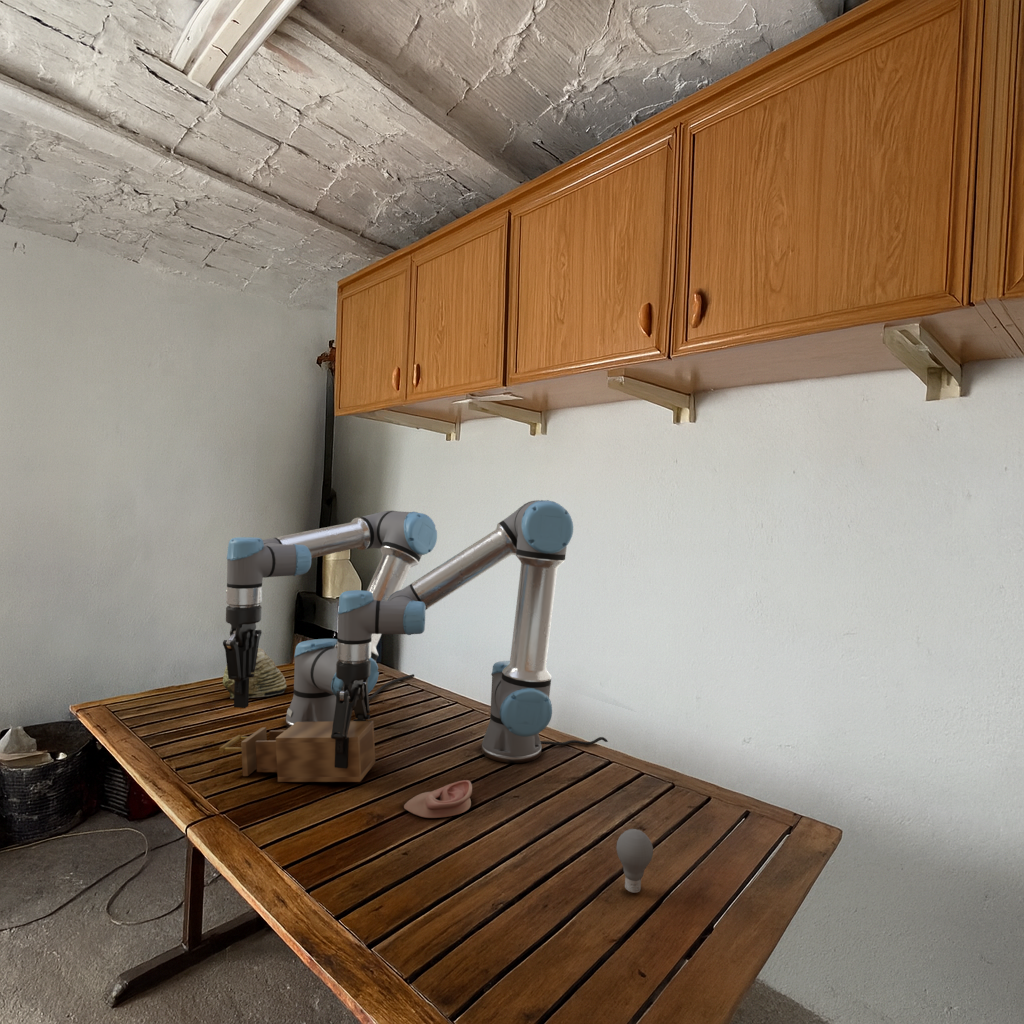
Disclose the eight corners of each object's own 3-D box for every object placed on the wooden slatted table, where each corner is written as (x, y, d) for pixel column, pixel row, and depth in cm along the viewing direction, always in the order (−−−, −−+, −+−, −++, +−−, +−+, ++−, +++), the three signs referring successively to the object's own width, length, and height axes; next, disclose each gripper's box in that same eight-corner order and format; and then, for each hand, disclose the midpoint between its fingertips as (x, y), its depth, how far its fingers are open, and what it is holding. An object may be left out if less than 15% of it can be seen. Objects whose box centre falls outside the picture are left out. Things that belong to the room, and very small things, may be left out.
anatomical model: (398, 794, 127) (418, 771, 139) (398, 814, 128) (417, 789, 139) (462, 803, 125) (477, 779, 136) (461, 823, 125) (476, 797, 136)
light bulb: (610, 879, 108) (613, 822, 108) (644, 879, 109) (647, 822, 109) (619, 902, 102) (622, 840, 102) (655, 901, 103) (658, 840, 103)
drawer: (218, 776, 142) (216, 742, 142) (240, 759, 151) (238, 727, 151) (317, 776, 139) (315, 741, 139) (333, 759, 148) (332, 726, 148)
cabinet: (277, 782, 140) (275, 737, 140) (298, 762, 150) (296, 721, 150) (360, 782, 138) (357, 737, 138) (375, 762, 148) (373, 720, 148)
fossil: (218, 695, 195) (220, 647, 195) (278, 685, 208) (279, 640, 207) (228, 703, 189) (230, 653, 188) (289, 692, 201) (290, 645, 201)
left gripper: (243, 599, 152) (240, 696, 153) (212, 608, 139) (209, 715, 140) (273, 601, 151) (270, 699, 152) (244, 610, 138) (241, 717, 139)
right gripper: (355, 647, 155) (352, 737, 155) (316, 672, 132) (313, 777, 132) (385, 649, 154) (382, 739, 154) (351, 674, 131) (348, 780, 131)
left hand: (241, 706), depth 146 cm, fingers closed
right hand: (350, 757), depth 143 cm, fingers closed on cabinet, 10 cm apart
